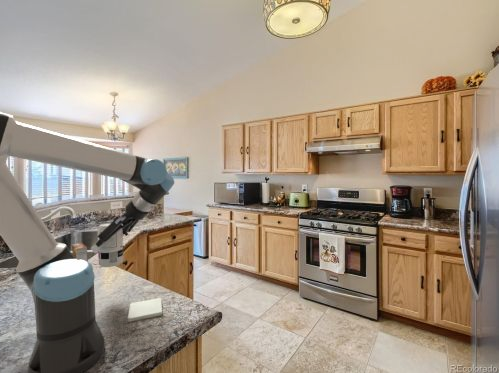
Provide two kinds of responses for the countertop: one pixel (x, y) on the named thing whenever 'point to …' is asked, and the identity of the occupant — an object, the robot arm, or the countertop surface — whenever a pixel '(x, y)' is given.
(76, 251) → the candy box
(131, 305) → the white square coaster
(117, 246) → the supplement can
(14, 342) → the countertop surface
